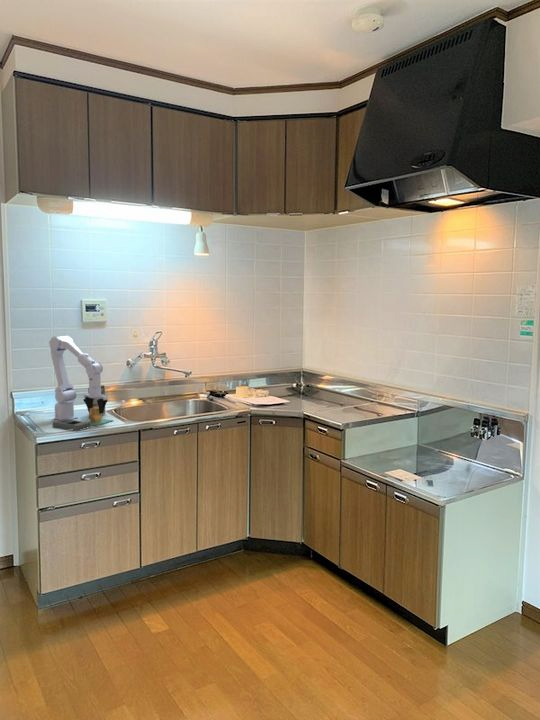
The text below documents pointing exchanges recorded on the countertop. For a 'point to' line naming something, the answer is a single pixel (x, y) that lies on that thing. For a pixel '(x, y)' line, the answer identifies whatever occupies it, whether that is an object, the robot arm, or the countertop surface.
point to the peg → (95, 415)
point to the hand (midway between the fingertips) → (95, 412)
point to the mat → (99, 422)
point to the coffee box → (98, 399)
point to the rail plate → (71, 424)
